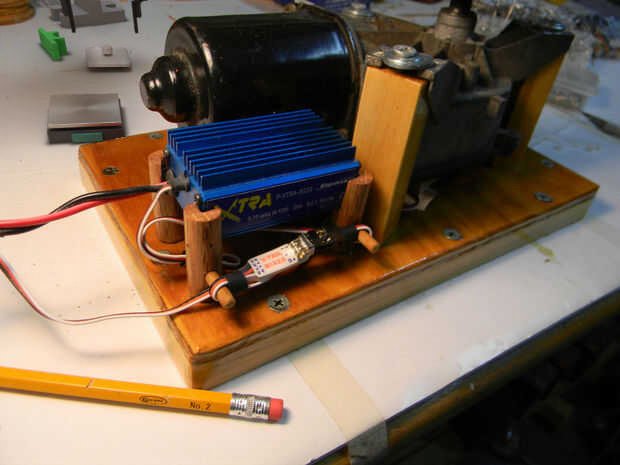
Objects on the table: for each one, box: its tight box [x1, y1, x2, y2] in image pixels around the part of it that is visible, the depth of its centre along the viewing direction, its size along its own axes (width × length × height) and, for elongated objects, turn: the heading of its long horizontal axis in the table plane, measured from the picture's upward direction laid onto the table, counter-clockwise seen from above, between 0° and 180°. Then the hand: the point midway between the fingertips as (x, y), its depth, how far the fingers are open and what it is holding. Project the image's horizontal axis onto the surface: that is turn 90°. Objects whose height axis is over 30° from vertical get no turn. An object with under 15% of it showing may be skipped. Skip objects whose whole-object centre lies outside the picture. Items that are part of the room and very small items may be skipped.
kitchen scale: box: [46, 98, 126, 144], centre depth 92 cm, size 13×14×3 cm
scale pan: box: [47, 92, 122, 129], centre depth 91 cm, size 12×12×1 cm
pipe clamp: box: [37, 27, 69, 61], centre depth 116 cm, size 11×4×5 cm, turn 39°
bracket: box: [49, 0, 127, 29], centre depth 134 cm, size 10×18×11 cm, turn 135°
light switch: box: [84, 44, 133, 68], centre depth 114 cm, size 10×10×5 cm
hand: (105, 31), depth 111 cm, fingers open, 13 cm apart
